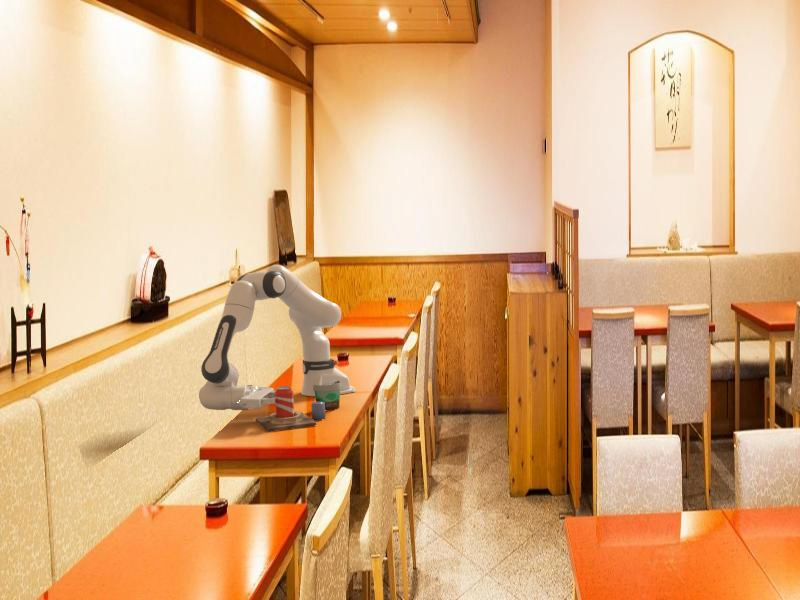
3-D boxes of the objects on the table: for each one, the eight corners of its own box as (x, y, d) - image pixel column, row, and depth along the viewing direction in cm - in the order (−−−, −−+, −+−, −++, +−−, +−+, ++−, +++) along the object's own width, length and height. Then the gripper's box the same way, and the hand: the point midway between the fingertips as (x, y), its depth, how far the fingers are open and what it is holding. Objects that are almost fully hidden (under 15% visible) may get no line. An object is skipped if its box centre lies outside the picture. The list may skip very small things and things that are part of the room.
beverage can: (297, 419, 367) (296, 387, 365) (284, 422, 362) (283, 390, 361) (286, 417, 371) (284, 385, 369) (273, 420, 366) (271, 388, 365)
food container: (323, 413, 381) (321, 387, 380) (313, 410, 386) (312, 384, 385) (349, 407, 389) (348, 382, 388) (339, 405, 394) (338, 380, 392)
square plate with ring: (302, 415, 378) (301, 407, 377) (316, 425, 361) (316, 417, 361) (255, 421, 371) (254, 412, 371) (267, 431, 354) (267, 423, 354)
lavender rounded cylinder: (322, 416, 375) (322, 400, 374) (327, 419, 371) (326, 403, 370) (310, 418, 373) (309, 402, 373) (314, 421, 369) (313, 405, 368)
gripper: (233, 395, 357) (270, 395, 355) (250, 384, 377) (286, 384, 375) (233, 412, 358) (271, 413, 355) (251, 400, 378) (287, 400, 375)
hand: (279, 398), depth 365 cm, fingers open, 8 cm apart
